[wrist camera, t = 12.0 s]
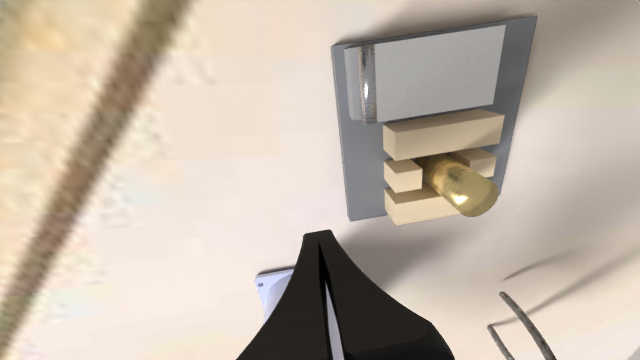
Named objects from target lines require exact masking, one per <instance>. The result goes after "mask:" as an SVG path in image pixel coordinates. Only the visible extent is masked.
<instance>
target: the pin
mask: <svg viewBox="0 0 640 360" xmlns="http://www.w3.org/2000/svg"><path fill="white" fill-rule="evenodd" d="M414 163H416V164H417V165H418V166H419V167H421V168H422V169H423V170H422V179H423V180H424V181H425V182H426V183H427V184H429V185H430V186H431V187H432V188H433V189H434V190H435V191H436V192H438V193H439V194H440V195H441V196H442V197H443V198H444V199H445V200H447V201H448V202H449V203H450V204H451V205H452V206H453V207H454V208H456V209H457V210H458V211H459V212H460V213H461V214H462V215H464V216H468V217H475V216H479V215H481V214H483V213H485V212H486V211H488V210H489V209H490V208H491V207H492V206H493V205H494V204H495V202H496V200H497V198H498V187H497V185H496V184H495V183H494V182H492V181H491V180H489V179H487V178H486V177H484V176H482V175H481V174H479V173H477V172H476V171H474V170H472V169H471V168H469V167H467V166H465V165H464V164H462V163H460V162H459V161H457V160H455V159H454V158H452V157H450V156H449V155H447V154H445V153H439V154H433V155H428V156H422V157H416V159H415V162H414Z"/></svg>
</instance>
